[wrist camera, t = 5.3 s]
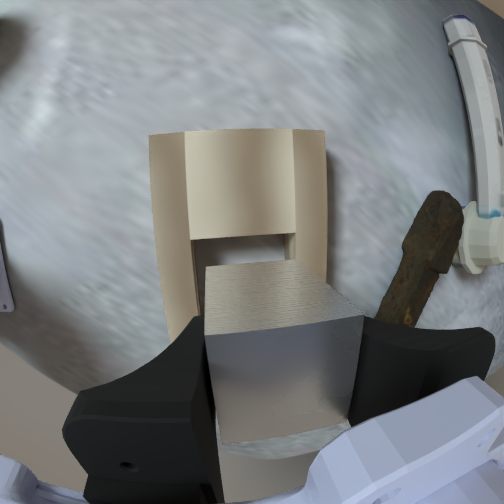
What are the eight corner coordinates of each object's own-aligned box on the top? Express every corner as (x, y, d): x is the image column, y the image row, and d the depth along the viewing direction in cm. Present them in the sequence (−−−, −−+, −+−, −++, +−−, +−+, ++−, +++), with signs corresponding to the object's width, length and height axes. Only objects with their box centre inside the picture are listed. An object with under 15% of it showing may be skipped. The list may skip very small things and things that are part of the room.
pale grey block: (214, 347, 13) (222, 443, 7) (205, 266, 12) (204, 335, 6) (296, 338, 14) (346, 421, 8) (297, 259, 13) (364, 314, 7)
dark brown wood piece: (356, 387, 24) (378, 417, 19) (323, 382, 23) (343, 416, 19) (446, 205, 21) (484, 211, 17) (419, 183, 20) (459, 186, 16)
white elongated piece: (485, 29, 14) (521, 279, 16) (449, 50, 20) (471, 269, 22) (453, 5, 13) (496, 282, 15) (417, 32, 19) (440, 270, 21)
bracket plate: (185, 384, 21) (184, 405, 18) (156, 142, 16) (148, 135, 14) (307, 370, 22) (317, 388, 20) (310, 136, 18) (324, 130, 15)
